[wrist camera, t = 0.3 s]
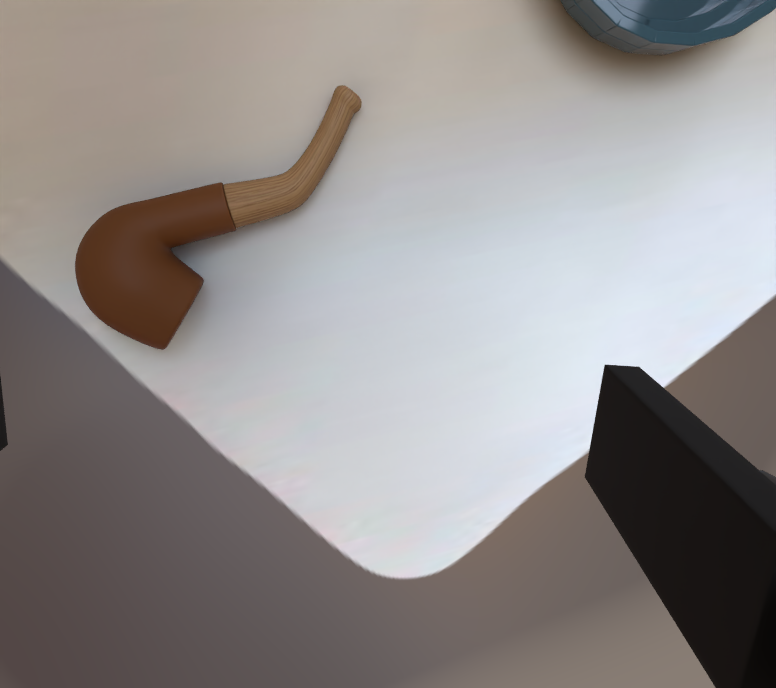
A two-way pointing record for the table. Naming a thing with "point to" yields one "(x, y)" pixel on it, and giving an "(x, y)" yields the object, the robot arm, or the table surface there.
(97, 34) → the table surface
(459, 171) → the table surface
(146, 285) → the pipe
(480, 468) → the table surface
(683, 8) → the bowl
